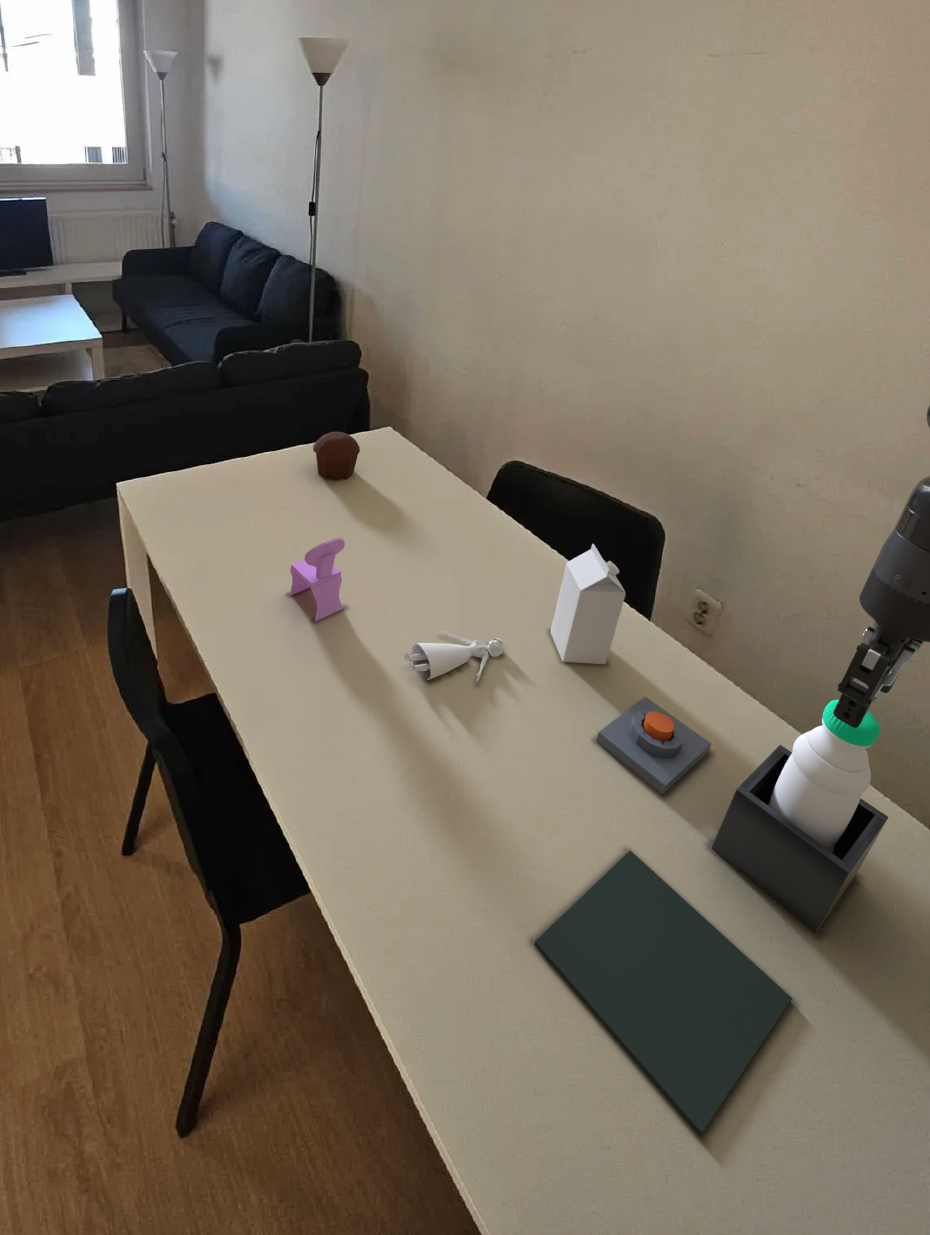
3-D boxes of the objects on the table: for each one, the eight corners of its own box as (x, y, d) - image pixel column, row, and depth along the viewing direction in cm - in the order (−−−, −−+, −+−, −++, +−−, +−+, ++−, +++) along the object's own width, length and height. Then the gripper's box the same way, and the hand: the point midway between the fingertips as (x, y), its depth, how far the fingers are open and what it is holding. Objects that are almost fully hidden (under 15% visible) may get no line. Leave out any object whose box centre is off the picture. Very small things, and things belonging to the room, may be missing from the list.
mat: (628, 855, 83) (630, 849, 83) (789, 1003, 70) (792, 998, 69) (533, 946, 74) (535, 940, 73) (699, 1138, 60) (702, 1133, 60)
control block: (641, 706, 104) (648, 687, 103) (707, 754, 97) (715, 734, 95) (595, 742, 98) (601, 722, 96) (661, 797, 91) (669, 776, 89)
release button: (652, 716, 98) (655, 707, 98) (676, 733, 96) (679, 724, 95) (638, 727, 96) (641, 718, 96) (662, 745, 94) (665, 736, 93)
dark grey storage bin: (753, 803, 90) (780, 744, 86) (853, 878, 82) (888, 816, 77) (710, 850, 84) (736, 789, 80) (813, 936, 76) (849, 873, 71)
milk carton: (562, 663, 112) (586, 569, 104) (549, 633, 119) (571, 542, 111) (605, 666, 112) (632, 572, 104) (590, 635, 118) (614, 544, 111)
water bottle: (813, 854, 84) (890, 705, 74) (818, 906, 79) (902, 753, 69) (747, 825, 87) (812, 678, 77) (748, 873, 82) (818, 722, 72)
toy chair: (320, 581, 129) (324, 514, 123) (348, 608, 122) (354, 538, 116) (283, 596, 124) (285, 527, 118) (310, 625, 118) (314, 553, 112)
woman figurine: (393, 626, 112) (486, 612, 118) (389, 648, 113) (481, 632, 120) (426, 679, 102) (526, 660, 108) (421, 701, 103) (520, 681, 109)
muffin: (338, 456, 175) (340, 421, 171) (367, 474, 168) (370, 437, 164) (302, 469, 169) (303, 433, 165) (331, 488, 161) (333, 450, 157)
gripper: (948, 630, 59) (878, 761, 66) (994, 576, 67) (927, 698, 73) (848, 583, 65) (793, 708, 71) (901, 538, 73) (847, 655, 79)
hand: (861, 703), depth 72 cm, fingers open, 8 cm apart
